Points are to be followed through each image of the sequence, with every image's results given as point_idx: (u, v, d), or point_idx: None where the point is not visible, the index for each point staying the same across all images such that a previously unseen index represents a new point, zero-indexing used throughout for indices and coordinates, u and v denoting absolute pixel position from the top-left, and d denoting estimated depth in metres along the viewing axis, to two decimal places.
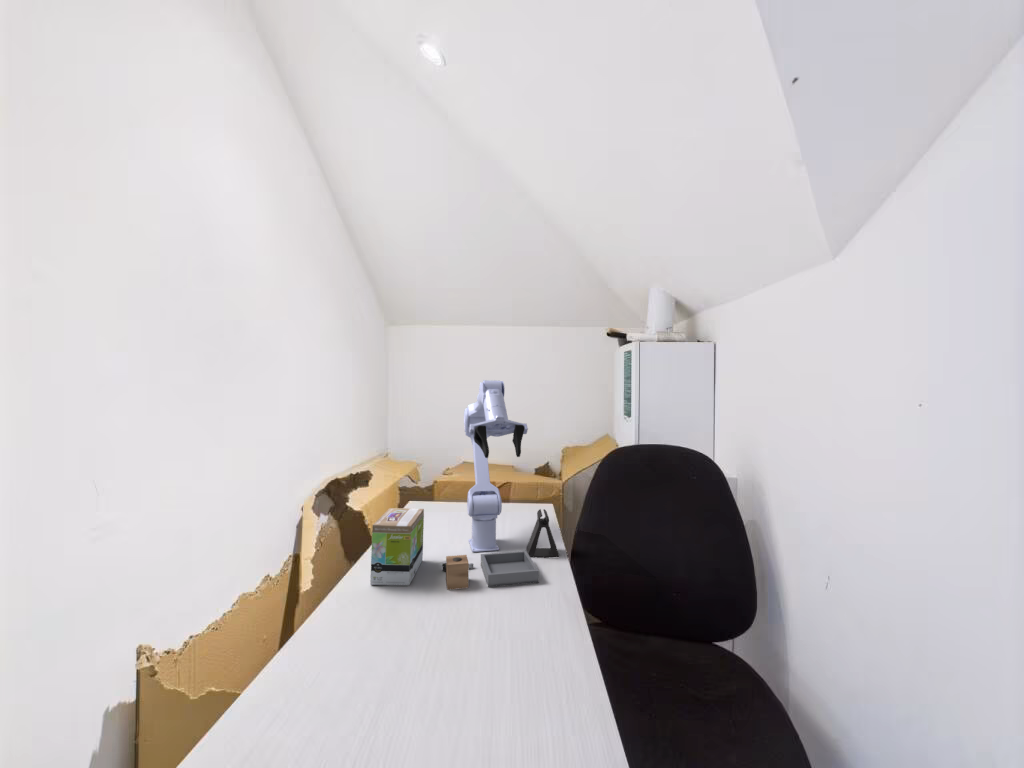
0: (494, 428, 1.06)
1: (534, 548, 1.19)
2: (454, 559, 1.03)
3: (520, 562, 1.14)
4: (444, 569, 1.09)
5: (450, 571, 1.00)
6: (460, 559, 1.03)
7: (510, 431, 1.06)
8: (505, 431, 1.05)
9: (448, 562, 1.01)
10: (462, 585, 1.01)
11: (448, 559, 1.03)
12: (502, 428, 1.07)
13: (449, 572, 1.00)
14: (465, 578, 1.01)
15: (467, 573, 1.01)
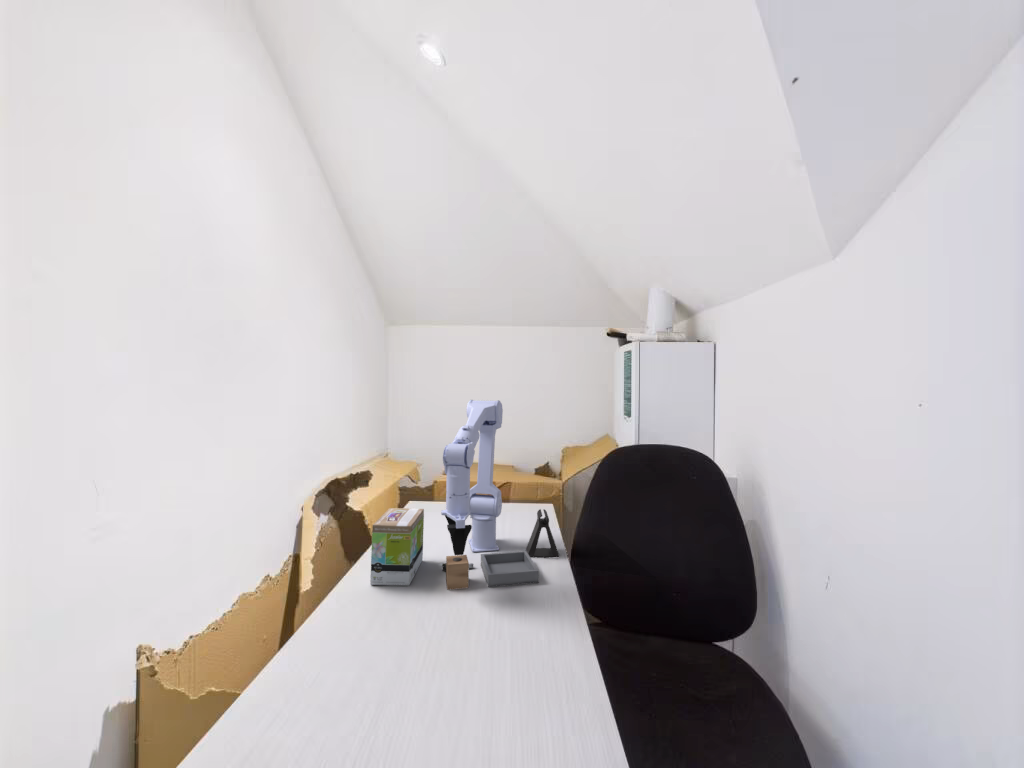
0: None
1: (534, 548, 1.19)
2: (454, 559, 1.03)
3: (520, 562, 1.14)
4: (444, 569, 1.09)
5: (450, 571, 1.00)
6: (460, 559, 1.03)
7: None
8: None
9: (448, 562, 1.01)
10: (462, 585, 1.01)
11: (448, 559, 1.03)
12: None
13: (449, 572, 1.00)
14: (465, 578, 1.01)
15: (467, 573, 1.01)
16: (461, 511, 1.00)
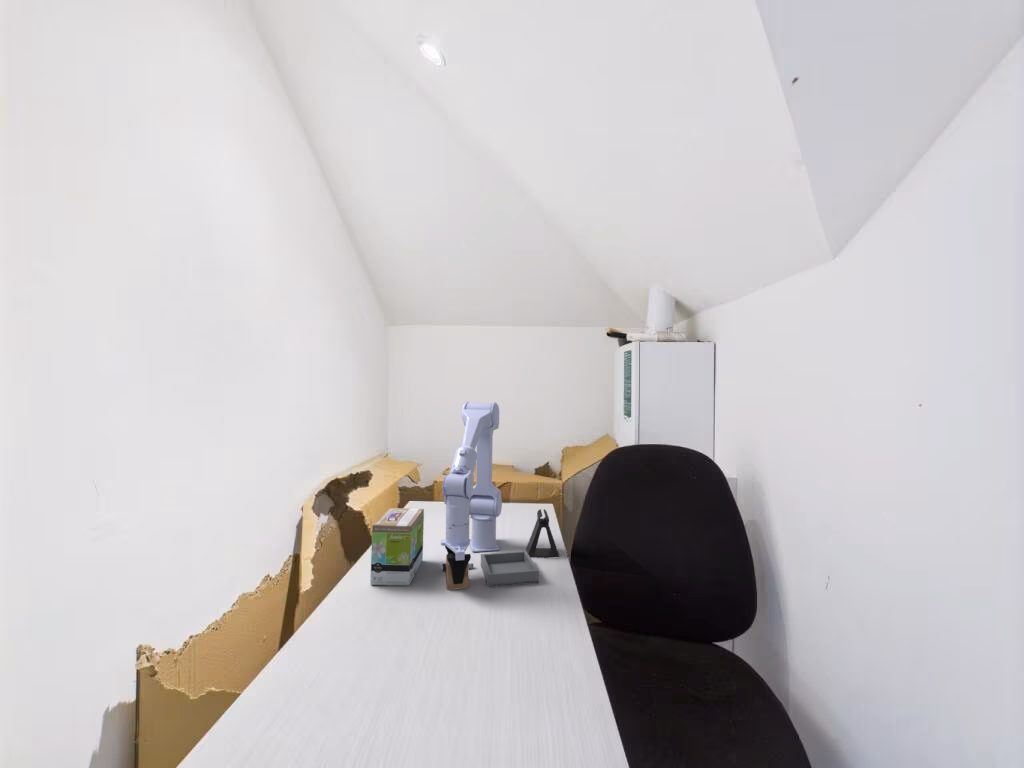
0: None
1: (534, 548, 1.19)
2: None
3: (520, 562, 1.14)
4: (444, 569, 1.09)
5: (450, 571, 1.00)
6: None
7: None
8: None
9: (448, 562, 1.01)
10: (462, 585, 1.01)
11: None
12: None
13: (449, 571, 1.00)
14: (465, 578, 1.01)
15: (467, 573, 1.01)
16: (461, 541, 1.00)
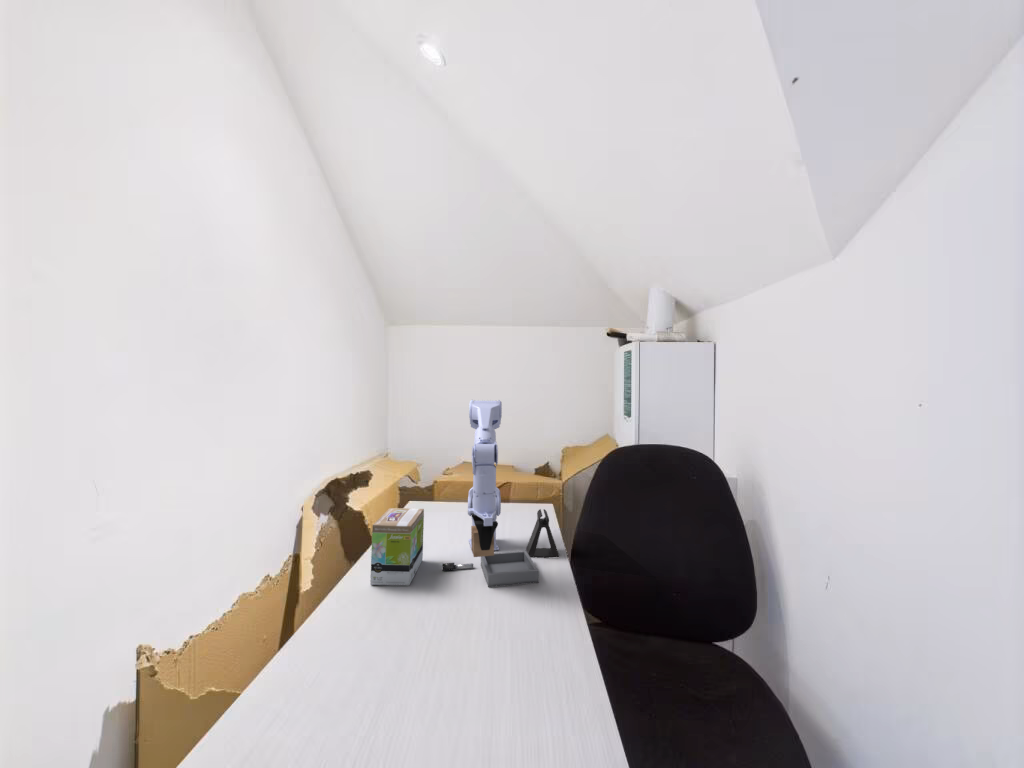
0: None
1: (534, 548, 1.19)
2: None
3: (520, 562, 1.14)
4: (444, 569, 1.09)
5: (476, 539, 1.03)
6: None
7: None
8: None
9: (474, 530, 1.04)
10: (488, 552, 1.04)
11: (473, 528, 1.06)
12: None
13: (475, 540, 1.03)
14: (491, 546, 1.04)
15: (492, 541, 1.04)
16: (488, 509, 1.03)
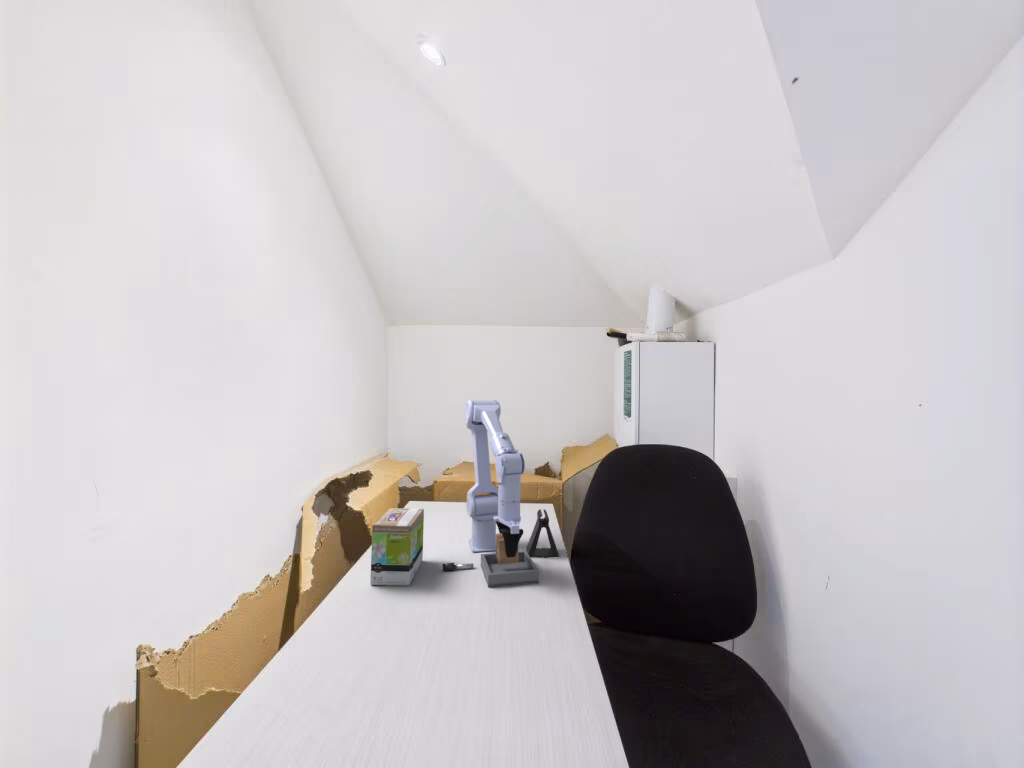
0: None
1: (534, 548, 1.19)
2: None
3: (520, 562, 1.14)
4: (444, 569, 1.09)
5: (501, 547, 1.06)
6: None
7: None
8: None
9: (499, 538, 1.07)
10: (513, 560, 1.07)
11: (498, 536, 1.09)
12: None
13: (500, 547, 1.06)
14: None
15: (517, 548, 1.07)
16: (514, 517, 1.06)
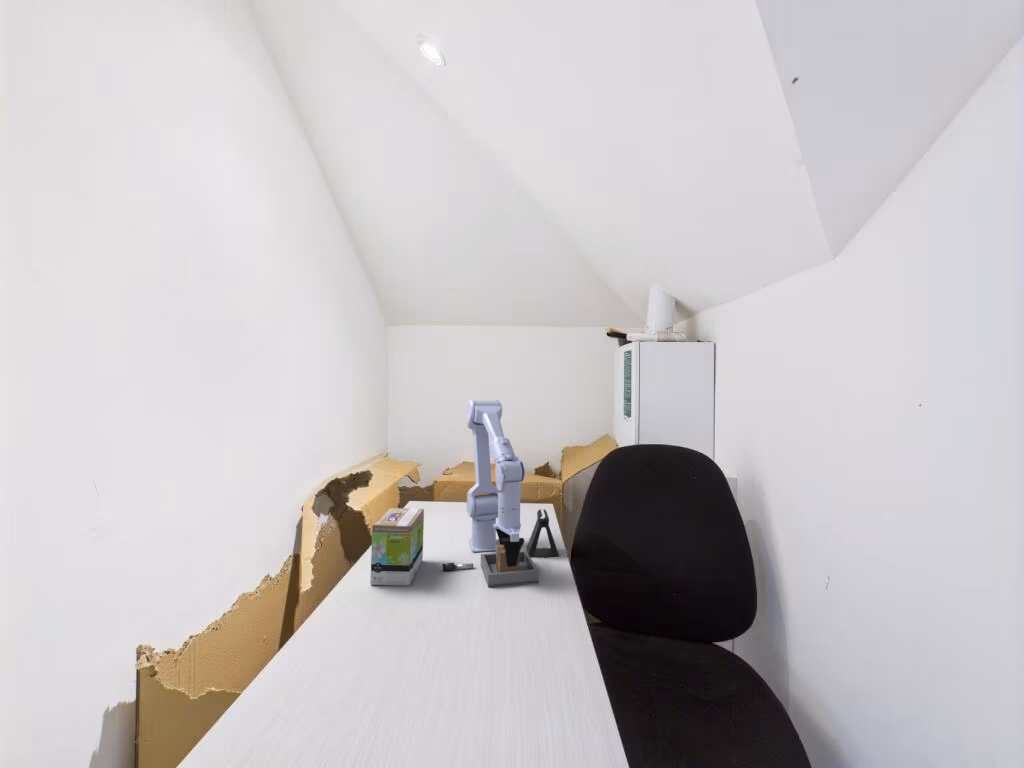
0: None
1: (534, 548, 1.19)
2: (504, 548, 1.09)
3: (520, 562, 1.14)
4: (444, 569, 1.09)
5: (502, 559, 1.06)
6: None
7: None
8: None
9: (499, 550, 1.07)
10: None
11: (499, 548, 1.09)
12: None
13: (501, 559, 1.06)
14: (516, 565, 1.07)
15: (518, 561, 1.07)
16: (513, 525, 1.06)
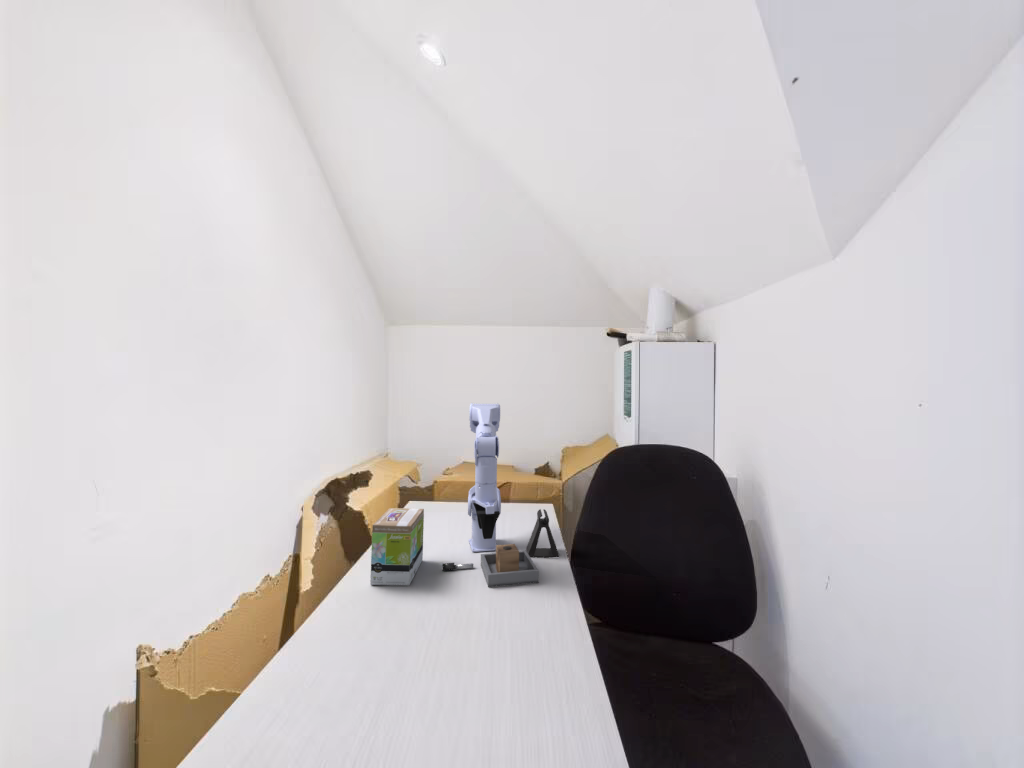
0: None
1: (534, 548, 1.19)
2: (504, 548, 1.09)
3: (520, 562, 1.14)
4: (444, 569, 1.09)
5: (502, 559, 1.06)
6: (510, 547, 1.09)
7: None
8: None
9: (499, 550, 1.07)
10: None
11: (499, 548, 1.09)
12: None
13: (501, 559, 1.06)
14: (516, 565, 1.07)
15: (518, 561, 1.07)
16: (490, 498, 1.09)
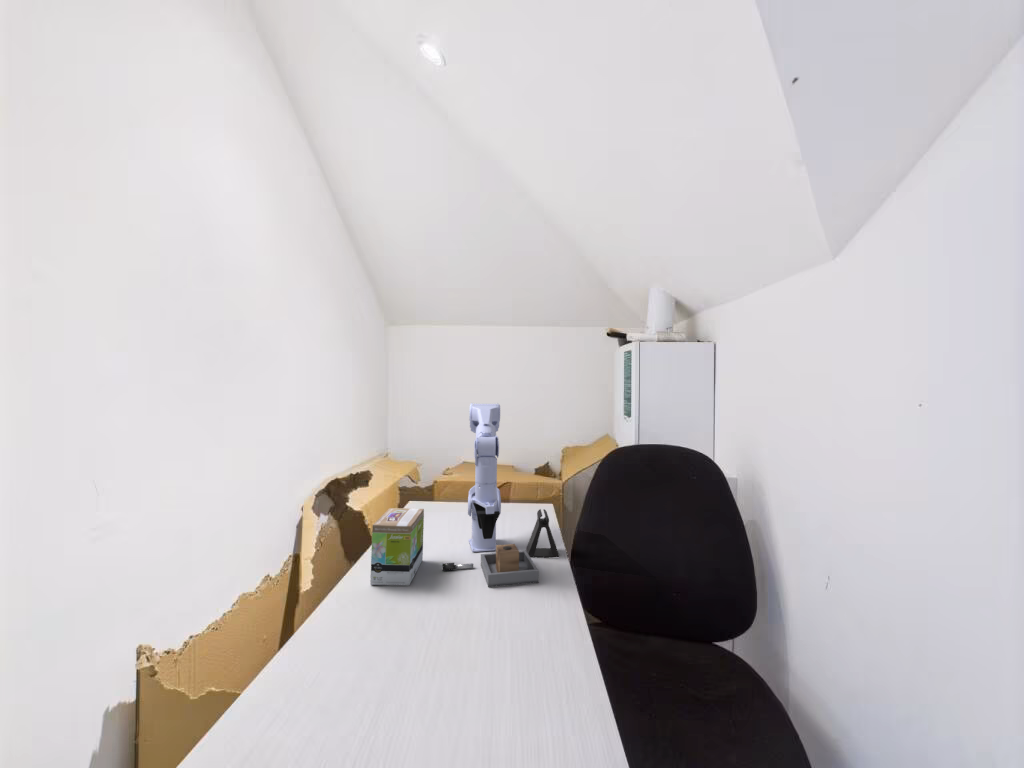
0: None
1: (534, 548, 1.19)
2: (504, 548, 1.09)
3: (520, 562, 1.14)
4: (444, 569, 1.09)
5: (502, 559, 1.06)
6: (510, 547, 1.09)
7: None
8: None
9: (499, 550, 1.07)
10: None
11: (499, 548, 1.09)
12: None
13: (501, 559, 1.06)
14: (516, 565, 1.07)
15: (518, 561, 1.07)
16: (490, 498, 1.09)
